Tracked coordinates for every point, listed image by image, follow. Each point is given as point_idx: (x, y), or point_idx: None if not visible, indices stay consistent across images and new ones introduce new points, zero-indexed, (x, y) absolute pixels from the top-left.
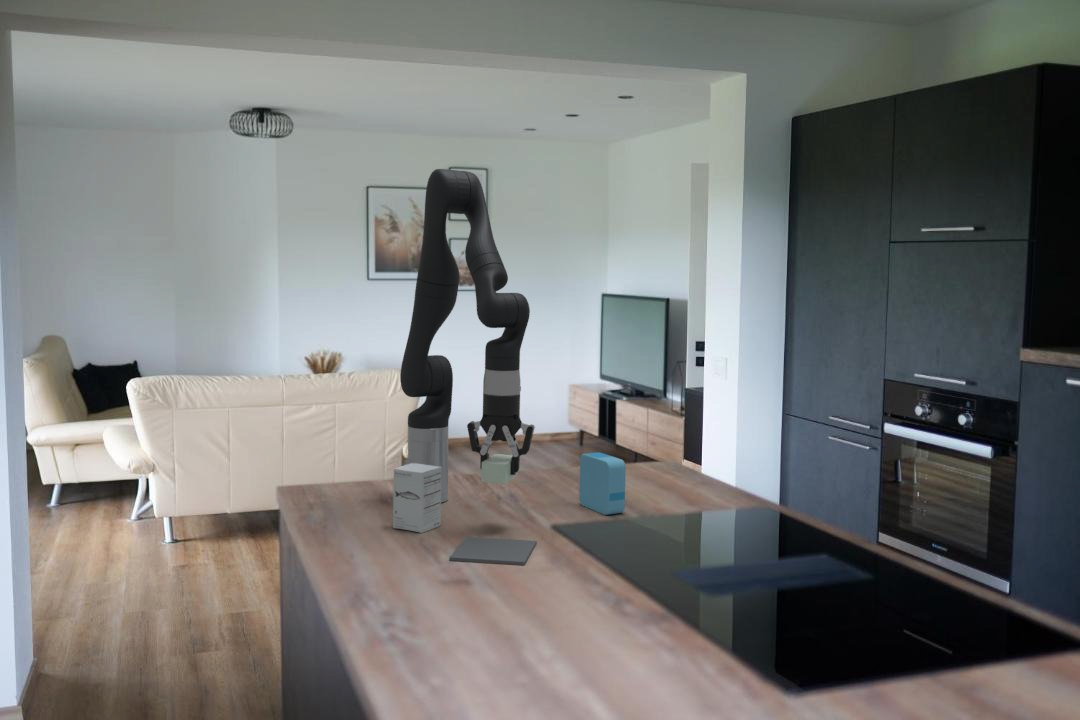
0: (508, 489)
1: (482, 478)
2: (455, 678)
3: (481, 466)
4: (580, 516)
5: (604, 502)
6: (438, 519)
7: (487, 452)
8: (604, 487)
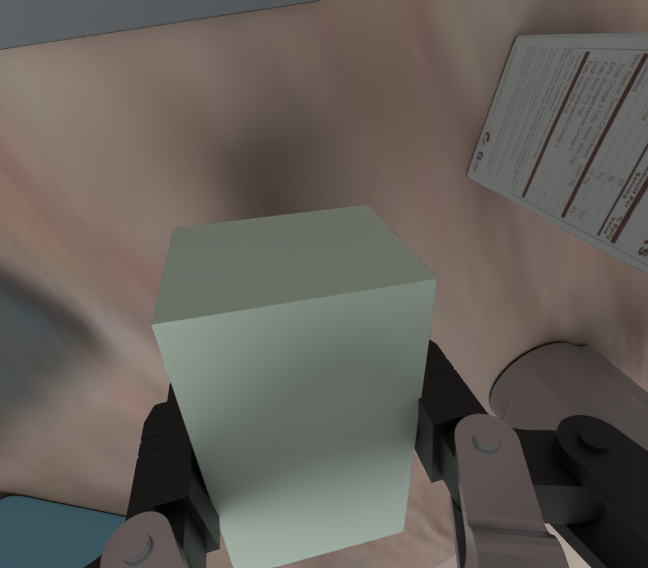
0: None
1: (367, 214)
2: None
3: (431, 351)
4: (79, 453)
5: (2, 536)
6: (485, 166)
7: (447, 480)
8: None
